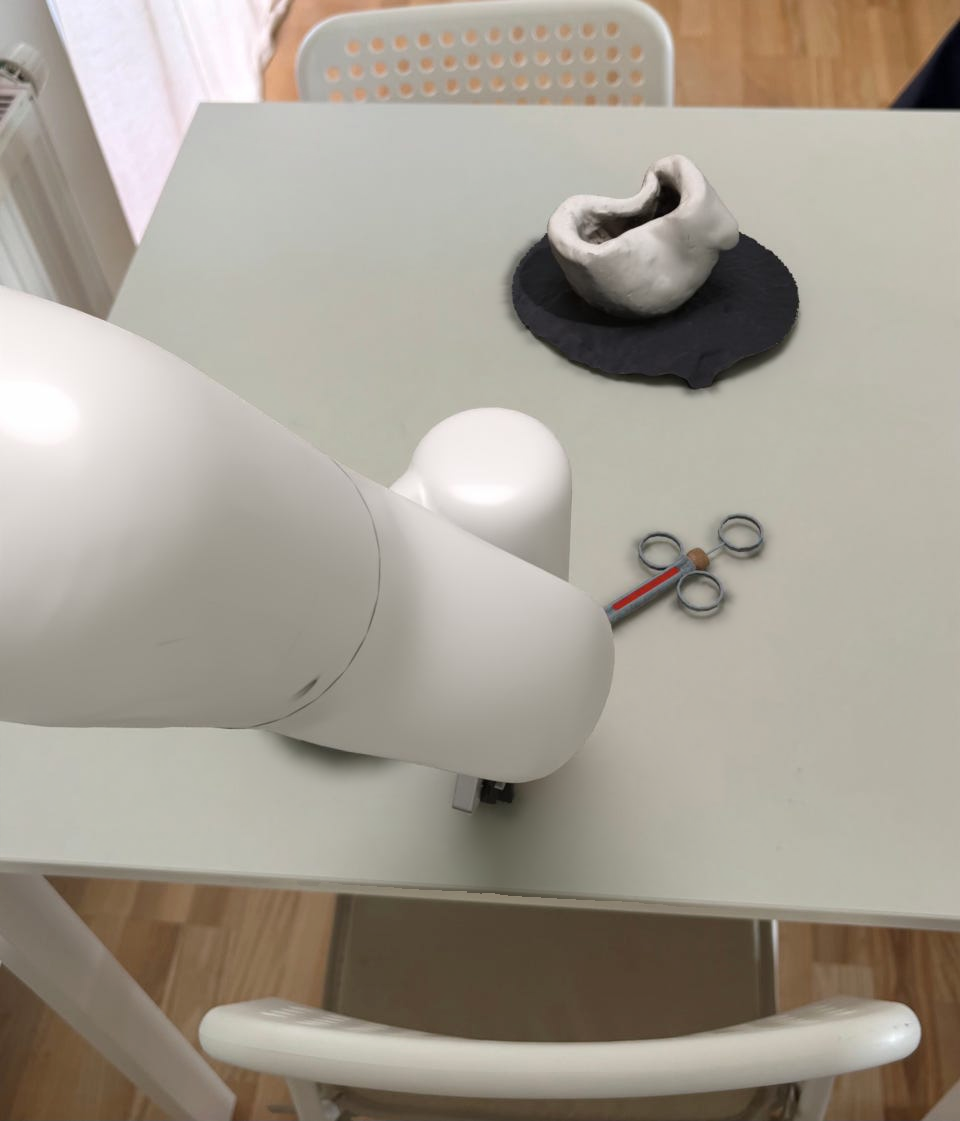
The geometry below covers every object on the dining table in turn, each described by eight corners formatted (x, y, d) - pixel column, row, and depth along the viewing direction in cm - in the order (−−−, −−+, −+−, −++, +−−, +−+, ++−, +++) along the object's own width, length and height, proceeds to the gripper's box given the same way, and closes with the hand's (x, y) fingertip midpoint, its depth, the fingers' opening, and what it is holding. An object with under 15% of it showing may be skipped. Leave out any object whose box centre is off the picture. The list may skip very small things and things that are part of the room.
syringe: (532, 611, 80) (532, 599, 78) (721, 496, 85) (724, 482, 84) (597, 688, 76) (598, 676, 75) (791, 563, 81) (795, 549, 80)
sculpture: (805, 401, 92) (850, 283, 82) (507, 388, 92) (514, 268, 82) (775, 227, 105) (811, 105, 95) (514, 216, 105) (520, 93, 95)
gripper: (480, 469, 64) (491, 631, 79) (371, 726, 55) (406, 854, 70) (606, 498, 62) (593, 658, 77) (515, 768, 53) (520, 889, 68)
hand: (504, 749), depth 73 cm, fingers open, 5 cm apart
